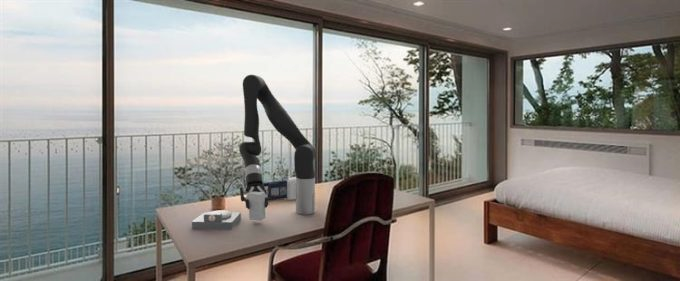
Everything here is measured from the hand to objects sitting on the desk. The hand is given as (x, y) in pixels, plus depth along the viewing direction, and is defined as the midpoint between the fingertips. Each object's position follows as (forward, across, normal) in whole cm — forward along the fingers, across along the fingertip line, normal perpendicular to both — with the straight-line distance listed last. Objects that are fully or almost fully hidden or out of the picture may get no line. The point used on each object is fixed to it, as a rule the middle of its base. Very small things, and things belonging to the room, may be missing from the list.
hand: (257, 207), depth 168 cm
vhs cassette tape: (-22, +12, +33) cm, 42 cm away
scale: (+1, -17, +9) cm, 19 cm away
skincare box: (+3, 0, +5) cm, 6 cm away
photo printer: (-21, +25, +32) cm, 46 cm away
